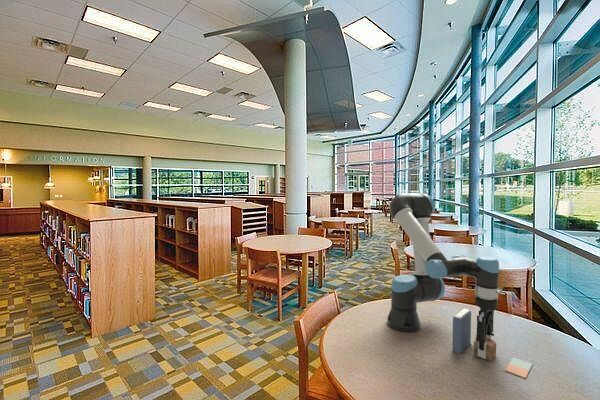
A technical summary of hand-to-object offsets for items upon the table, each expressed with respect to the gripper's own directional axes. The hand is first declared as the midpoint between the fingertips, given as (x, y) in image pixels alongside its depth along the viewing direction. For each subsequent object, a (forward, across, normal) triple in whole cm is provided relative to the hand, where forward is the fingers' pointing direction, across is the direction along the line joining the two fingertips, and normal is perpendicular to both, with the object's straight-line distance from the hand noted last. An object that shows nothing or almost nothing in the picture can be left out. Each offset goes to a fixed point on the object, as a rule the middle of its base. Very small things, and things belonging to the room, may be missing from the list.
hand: (484, 353), depth 116 cm
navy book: (+1, 0, +8) cm, 8 cm away
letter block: (0, 0, 0) cm, 1 cm away
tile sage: (0, +3, -11) cm, 12 cm away
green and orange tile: (0, -3, -11) cm, 12 cm away
